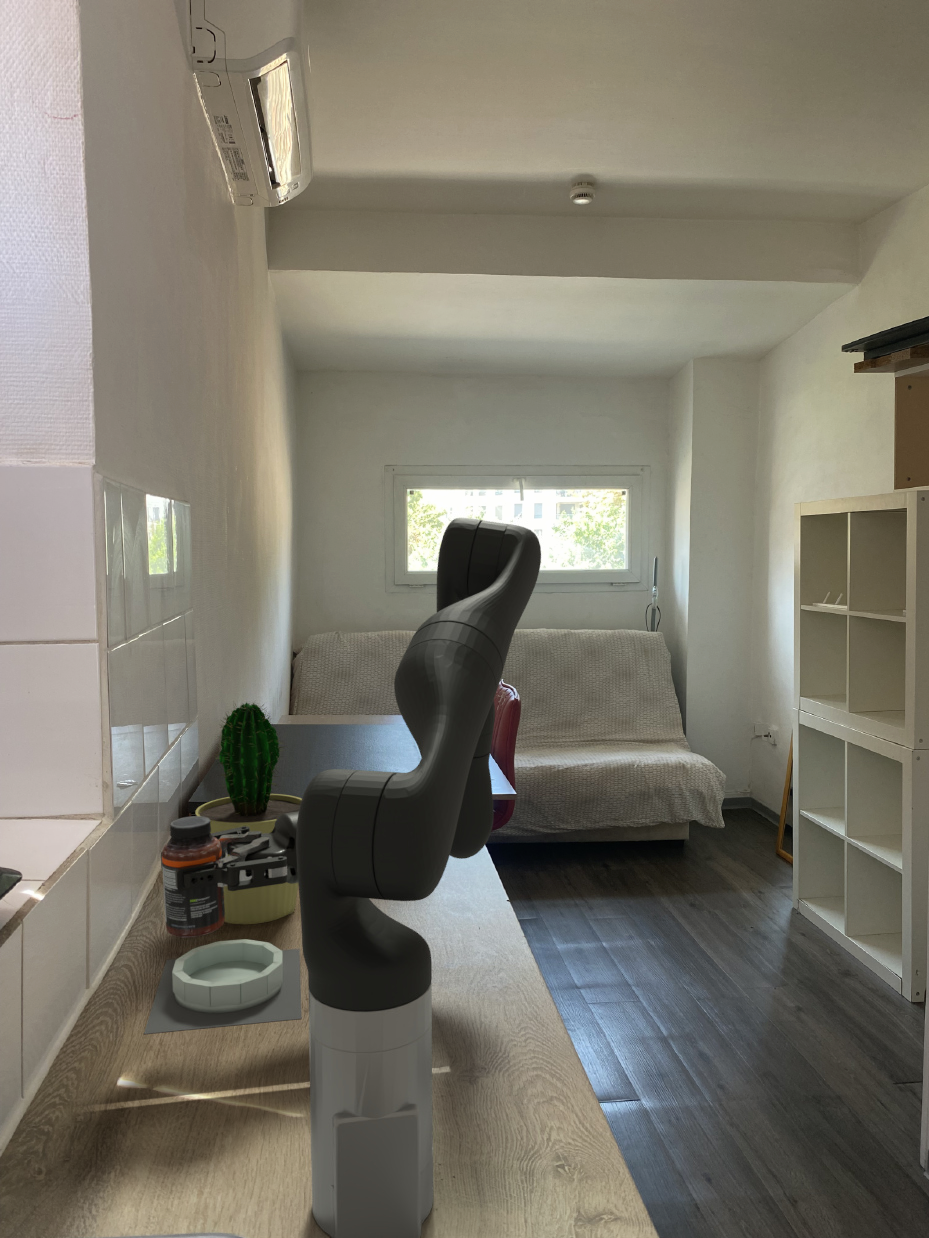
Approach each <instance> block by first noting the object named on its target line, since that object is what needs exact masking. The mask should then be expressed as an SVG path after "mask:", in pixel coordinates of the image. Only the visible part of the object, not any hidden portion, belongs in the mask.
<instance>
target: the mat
mask: <svg viewBox="0 0 929 1238" xmlns="http://www.w3.org/2000/svg"><path fill="white" fill-rule="evenodd" d="M280 950H281V951H282V954H283V984H282V987H281V989H280V991H279V992H278V993H277V994H276V995H275V996H273V997H272V998H270V999H269V1000H267V1001H265V1002H263V1003H261V1004H259V1005H256V1006H253V1007H250V1008H247V1009H243V1010H238V1011H232V1012H223V1013H207V1012H198V1011H194V1010H190V1009H187V1008H185V1007H183V1006H181V1005H180V1004H179V1003H178V1002H177V1001H176V999H175V996H174V992H173V979H172V971H173V968H174V964H175V961H176V960H177V959H178V958H170V959H166V961H165V963H164V964H165V965H164V967H163V970H162V972H161V977H160V980H159V984H158V986H157V990H156V993H155V996H154V999H153V1003H152V1006H151V1009H150V1013H149V1016H148V1019H147V1022H146V1025H145V1028H144V1033H143V1035H150V1034H160V1033H161V1034H162V1033H163V1034H164V1033H170V1032H171V1033H173V1032H182V1031H193V1030H202V1029H211V1028H224V1027H233V1026H243V1025H244V1026H245V1025H253V1024H254V1025H255V1024H263V1023H265V1024H266V1023H275V1022H284V1021H294V1020H296V1021H297V1020H302V994H301V993H302V992H301V991H302V989H301V986H302V985H301V984H302V983H301V952H300V951H301V950H300V948H292V949H280Z"/></svg>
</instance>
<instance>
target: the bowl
mask: <svg viewBox="0 0 929 1238" xmlns="http://www.w3.org/2000/svg"><path fill="white" fill-rule="evenodd" d="M281 950H282V949H280V948H278V947H277V946H275V945H274V944H272V943H271V942H267V941H260V940H253V939H247V938H246V939H245V938H243V939H230V940H220V941H219V940H218V941H215V942H214V941H213V942H211V943H209V944H204V945H201V946H198V947H197V946H196V947H195V948H192V949H191V950H189V951H187V952H186V953H184V954H183V955H181V956H180V957H177V958H176V959H177V960H176V961H175V964H174V968H173V971H172V979H173V992H174V996H175V999H176V1001H177V1002H178V1003H179V1004H180V1005H181V1006H183V1007H185V1008H187V1009H190V1010H194V1011H198V1012H207V1013H223V1012H232V1011H238V1010H243V1009H247V1008H250V1007H253V1006H256V1005H259V1004H261V1003H263V1002H265V1001H267V1000H269V999H270V998H272V997H273V996H275V995H276V994H277V993H278V992H279V991H280V989H281V987H282V984H283V954H282V951H281Z"/></svg>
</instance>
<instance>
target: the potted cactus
mask: <svg viewBox="0 0 929 1238" xmlns="http://www.w3.org/2000/svg"><path fill="white" fill-rule="evenodd" d="M265 703H267V702H264V704H263V705H260V706H259V702H258V703H256V700H255V701H254V702H252V704H251V701H249V703H248V702H247V701H246V702H245V703H240V704H241V705H240V706H239V707H237V704H236V703H235V701H233V704H234V706H235V707H232V708H233V709H232V708H231V709H229V710H228V711H227V712H225V715H226V718H224V720H225V721H224V720H221V722H222V723H221V724H219V728H222V729H221V730H220V733H221V735H220V736H214V737H216V739H215V740H217V738H219V740H220V743H214V744H215V745H217V746H218V747H217V750H220V751H218V752H216V753H217V754H219V756H218V755H217V754H216V753H215V754H214V755H215V756H216V760H219V762H218V763H216V765H218V766H223V771H224V773H221V774H220V773H219V774H217V775H218V776H222V777H224V780H221V781H219V783H220V782H224V781H225V783H224V785H222V783H221V784H219V787H220V788H224V789H223V791H224V790H227V791H226V792H227V794H229V795H228V796H227V797H226V796H225V797H222V798H217V799H213V800H211V801H208V802H206V803H204V804H202V805H201V804H200V806H198V807H197V808H196V810H195V811H194V812H195V816H201V817H206V818H209V819H210V824H211V832H210V833H215V832H220V831H225V830H229V829H234V828H239V827H242V826H247V827H250V831H260V832H262V833H268V834H269V833H271V832H272V831H273V829H274V827H275V822H276V820H277V818H278V817H279V816H280V815H282V814H285V813H291V812H298V811H299V808H300V804H301V800H302V798H303V797H302V798H301V797H298V796H294V795H289V794H281V793H280V794H279V793H274V792H273V791H272V786H273V787H274V786H275V787H279V785H277V783H275V782H273V779H275V778H279V776H277V773H279V771H278V770H277V768H279V769H280V770H282V768H281V767H279V766H277V763H279V762H280V761H281V760H282V759H281V758H282V757H283V755H281V753H284V751H285V749H284V748H285V747H286V745H285V744H282V745H281V746H279V745H280V743H283V740H279V737H278V735H280V732H278V733H277V731H279V730H282V728H280V729H278V730H276V729H275V726H273V724H274V722H273V723H272V722H271V721H272V718H271V716H270V712H267V707H265V708H264V706H265ZM257 704H258V705H257ZM229 711H230V712H229ZM227 713H228V714H227ZM230 714H231V715H230ZM215 745H214V746H215ZM280 757H281V758H280ZM209 759H211V758H209ZM281 762H282V761H281ZM276 766H277V768H276ZM220 785H221V786H220ZM220 788H219V789H220ZM228 856H230V854H228ZM245 873H246V872H245ZM298 891H299V885H298V883H294V884H290V883H287V882H286V883H283V884H276V885H270V886H263V887H256V888H250V889H243V890H237V891H229V890H228V887H227V886H224V907H225V921H224V923H227V924H234V925H253V924H262V923H267V922H268V923H269V922H272V921H276V920H278V919H280V918H281V919H282V918H284V917H286V916H287V915H291V914H293V913H294V911H295V909H296V906H297V905H296V904H297V898H298Z"/></svg>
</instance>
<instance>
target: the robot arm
mask: <svg viewBox="0 0 929 1238" xmlns="http://www.w3.org/2000/svg"><path fill="white" fill-rule="evenodd" d="M541 561H542V550H541V543H540V541H539V538H538V536H537V535H536V533H535V532H533V531H532V530H531V529H529V528H527V527H524V526H520V525H516V524H512V523H503V522H502V523H501V522H497V521H488V520H483V519H477V518H470V517H469V518H467V517H457V518H453V520H451V521H450V522H449V524H448V525H447V526H446V528H445V530H444V533H443V536H442V539H441V541H440V547H439V552H438V557H437V569H436V613H434V614H432V615H431V616H429V617H428V618H427V619H426V620H425V621H424V622H422V624H421V625H420V626H419V627H418V629H416V631H415V633H414V634H413V636H412V638H411V639H410V642H409V643H408V646H407V647H406V649H405V652H404V653H403V655H402V658H401V660H400V662H399V665H398V667H397V670H396V672H395V674H394V675H395V676H394V682H393V685H394V687H393V689H394V697H395V701H396V704H397V707H398V710H399V713H400V715H401V717H402V719H403V721H404V723H405V725H406V727H407V728H408V731H409V733H410V734H411V736H412V738H413V740H414V741H415V743H416V746H417V748H418V750H419V754H420V757H421V758H420V761H419V763H418V765H416V767H414V768H413V770H412V769H411V770H410V771H408V772H407V771H406V772H397V771H396V772H395V771H383V770H382V771H379V770H378V771H377V770H363V769H361V770H360V769H359V770H358V769H349V768H348V769H346V768H345V769H343V768H334V769H333V768H331V769H326V770H323V771H321V772H319V773H317V774H316V775H314V776H313V778H312V779H311V780H310V782H309V783H308V785H307V786H306V788H305V790H304V792H303V794H302V800H301V804H300V808H299V811H298V812H291V813H285V814H282V815H280V816H279V817H278V818H277V820H276V822H275V827H274V829H273V831H272V832H271V833H269V834H268V833H262V832H260V831H250V827H247V826H242V827H239V828H234V829H229V830H225V831H220V832H215V833H211V835H212V836H213V837H215V838H217V839H218V840H219V842H220V844H221V849H222V859H220V860H217V861H216V865H214V863H213V862H212V861H211V862H206V863H202V864H196V865H190V866H184V867H179V868H178V869H176V871H175V881H176V887H177V889H178V890H179V891H185V890H190V889H195V888H200V887H206V886H211V885H215V883H216V885H217V886H218V887H224V886H227V887H228V890H229V891H237V890H243V889H250V888H256V887H263V886H270V885H276V884H283V883H286V882H287V883H290V884H294V883H298V895H299V896H298V897H299V907H300V909H299V910H300V923H301V925H300V927H301V943H302V945H301V947H302V954H303V958H304V962H305V964H306V969H307V974H308V975H307V976H308V977H307V978H308V981H307V982H308V989H307V990H308V1045H309V1046H308V1048H309V1049H308V1050H309V1052H308V1053H309V1056H308V1057H309V1058H308V1059H309V1106H310V1108H309V1110H310V1111H309V1112H310V1115H309V1117H310V1159H311V1160H310V1161H311V1163H310V1164H311V1166H310V1167H311V1202H312V1215H313V1218H314V1220H315V1222H316V1223H317V1225H318V1226H319V1227H320V1229H321V1230H323V1232H325V1233H326V1234H328V1235H329V1236H330V1237H331V1238H421V1237H422V1224H423V1223H424V1222H425V1220H426V1219H427V1217H428V1216H429V1214H430V1213H431V1210H432V1207H433V1206H434V1205H433V1203H434V1145H433V1143H434V1142H433V1141H434V1140H433V1137H434V1135H433V1134H434V1133H433V1131H434V1130H433V1129H434V1128H433V1038H432V1037H433V1033H432V1032H433V1029H432V1027H433V1025H432V1023H433V1022H432V1021H433V1019H432V1018H433V1015H432V1014H433V1012H432V1011H433V1004H432V1003H433V1001H432V999H433V997H432V993H433V992H432V990H433V989H432V987H433V986H432V984H433V983H432V979H433V976H432V973H433V971H432V968H433V967H432V954H431V947H430V946H429V944H428V942H427V941H426V939H425V938H424V937H423V936H422V935H421V934H420V933H418V932H417V931H416V930H415V929H412V928H410V927H408V926H407V925H405V924H403V923H402V922H400V921H397V920H396V919H394V918H393V917H391V916H390V915H387V914H386V913H385V912H383V911H382V910H381V909H379V908H378V907H377V905H376V904H375V903H374V902H373V901H372V900H383V901H395V902H416V901H421V900H424V899H427V898H428V897H429V896H430V895H431V894H432V893H433V892H434V891H435V889H437V887H438V886H439V883H440V882H441V880H442V877H443V876H444V873H445V870H446V867H447V865H448V862H449V857H452V858H454V859H459V860H461V859H462V860H463V859H469V858H471V857H474V856H475V855H477V854H478V853H480V851H481V850H482V849H483V848H484V847H485V845H486V844H487V842H488V840H489V839H490V836H491V834H492V829H493V825H494V818H495V817H494V813H495V812H494V797H493V788H492V787H493V786H492V777H491V771H490V763H489V762H490V757H491V750H492V743H493V742H492V741H493V736H494V735H493V734H494V727H495V721H496V720H495V718H496V706H495V697H496V694H497V690H498V687H499V685H500V681H501V679H502V676H503V672H504V670H505V669H504V668H505V664H506V661H507V657H508V654H509V650H510V647H511V643H512V639H513V636H514V634H515V631H516V629H517V626H518V624H519V622H520V620H521V617H522V616H523V614H524V611H525V610H526V607H527V606H528V603H529V602H530V599H531V596H532V594H533V592H534V589H535V588H536V584H537V581H538V578H539V574H540V570H541V569H540V568H541ZM228 854H230V856H228ZM160 867H161V870H163V867H162V851H161V852H160ZM245 872H246V873H245ZM371 899H372V900H371Z"/></svg>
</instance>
